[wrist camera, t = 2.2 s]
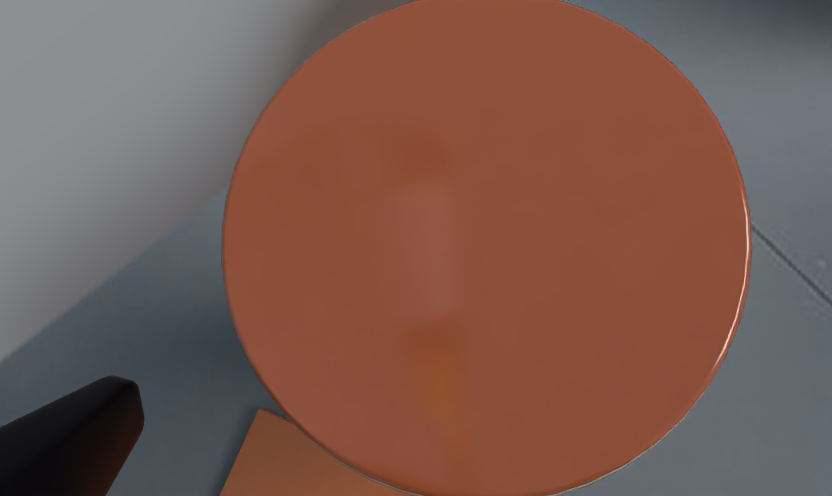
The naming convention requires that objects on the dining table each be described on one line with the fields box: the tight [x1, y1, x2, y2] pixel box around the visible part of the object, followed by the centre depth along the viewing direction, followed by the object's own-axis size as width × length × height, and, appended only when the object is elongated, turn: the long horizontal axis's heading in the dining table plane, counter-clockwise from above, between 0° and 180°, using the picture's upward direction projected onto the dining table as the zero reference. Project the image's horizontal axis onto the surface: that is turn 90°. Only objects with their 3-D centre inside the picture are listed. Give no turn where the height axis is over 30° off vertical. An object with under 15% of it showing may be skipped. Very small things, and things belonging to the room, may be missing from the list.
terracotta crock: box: [221, 0, 752, 496], centre depth 13 cm, size 6×6×13 cm
